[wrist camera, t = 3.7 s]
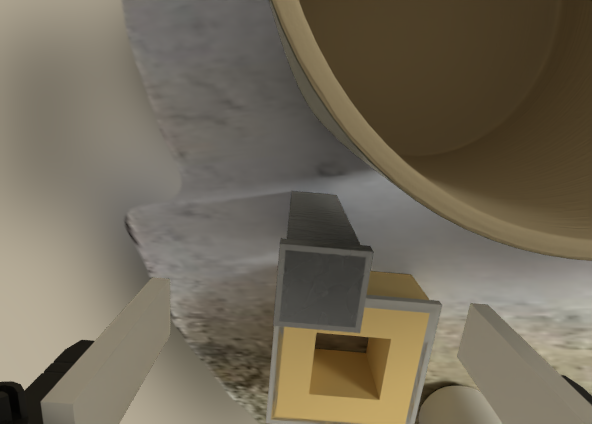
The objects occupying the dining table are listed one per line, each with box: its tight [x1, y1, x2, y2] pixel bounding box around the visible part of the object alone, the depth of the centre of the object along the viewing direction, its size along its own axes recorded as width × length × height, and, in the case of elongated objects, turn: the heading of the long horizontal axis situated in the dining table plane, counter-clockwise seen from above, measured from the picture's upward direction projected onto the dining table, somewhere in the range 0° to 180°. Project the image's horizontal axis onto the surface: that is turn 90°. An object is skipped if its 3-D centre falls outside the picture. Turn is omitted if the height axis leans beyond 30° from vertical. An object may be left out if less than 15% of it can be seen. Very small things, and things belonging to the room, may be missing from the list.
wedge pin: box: [273, 191, 373, 333], centre depth 24 cm, size 5×5×14 cm
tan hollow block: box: [266, 271, 442, 424], centre depth 31 cm, size 13×13×6 cm
